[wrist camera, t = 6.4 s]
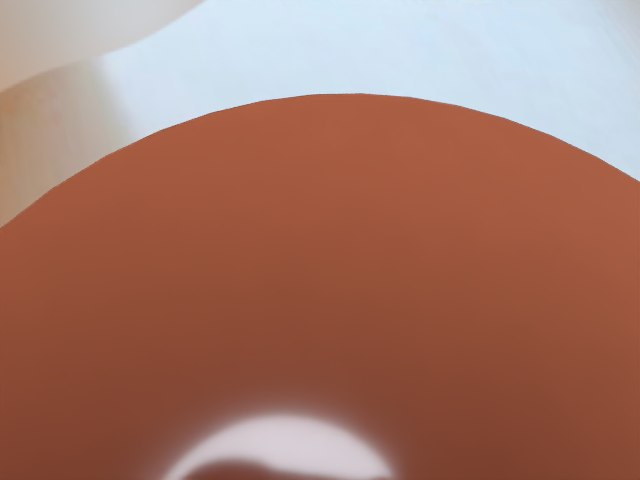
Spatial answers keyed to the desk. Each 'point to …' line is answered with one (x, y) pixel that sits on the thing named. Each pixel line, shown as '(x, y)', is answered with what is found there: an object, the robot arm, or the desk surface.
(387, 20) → the desk surface
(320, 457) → the fluted orange cylinder
